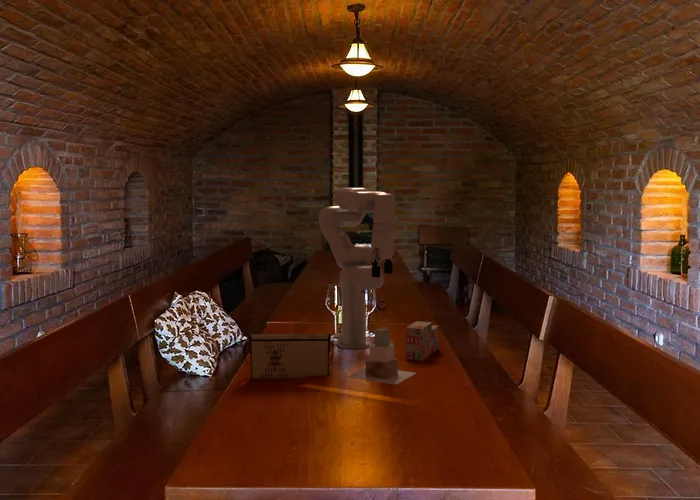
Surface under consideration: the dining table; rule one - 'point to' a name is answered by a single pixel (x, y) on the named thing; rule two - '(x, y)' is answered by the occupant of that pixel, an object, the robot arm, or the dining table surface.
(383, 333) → the olive domed cylinder
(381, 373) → the base block
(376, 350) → the middle block
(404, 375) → the grey board
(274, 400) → the dining table surface
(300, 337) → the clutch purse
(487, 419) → the dining table surface
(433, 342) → the stack of blocks
